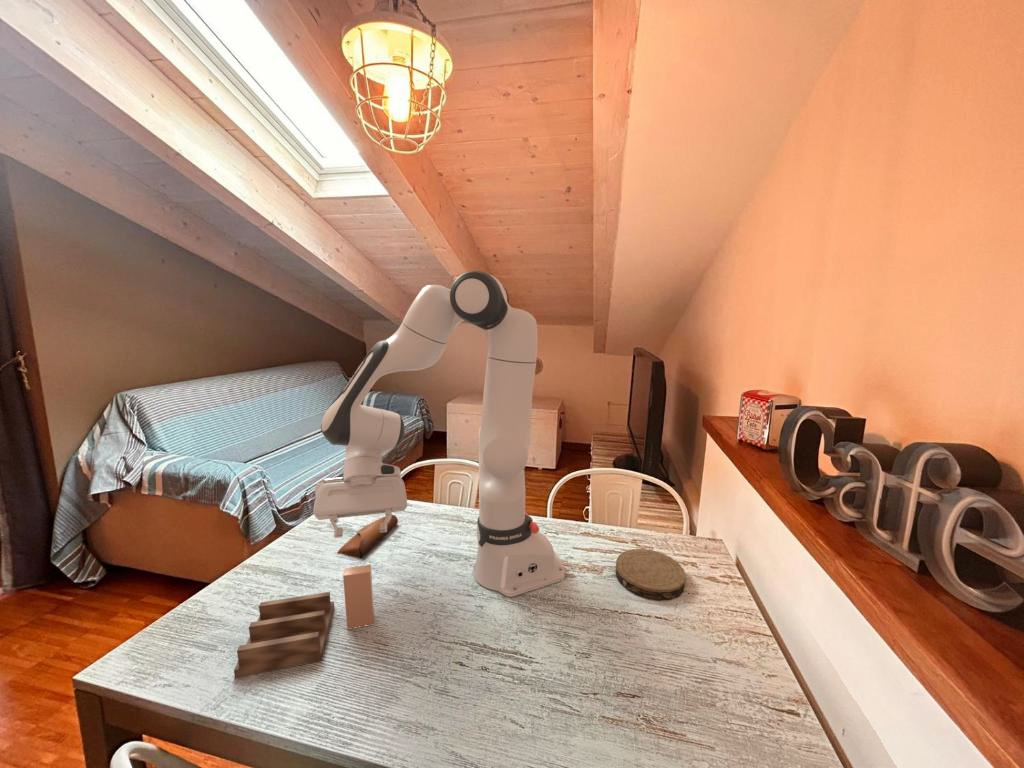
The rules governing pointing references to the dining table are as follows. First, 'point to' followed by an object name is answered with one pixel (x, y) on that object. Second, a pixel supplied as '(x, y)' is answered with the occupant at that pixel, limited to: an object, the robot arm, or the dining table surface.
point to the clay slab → (358, 596)
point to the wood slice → (650, 574)
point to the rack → (286, 634)
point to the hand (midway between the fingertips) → (361, 534)
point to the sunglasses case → (366, 538)
